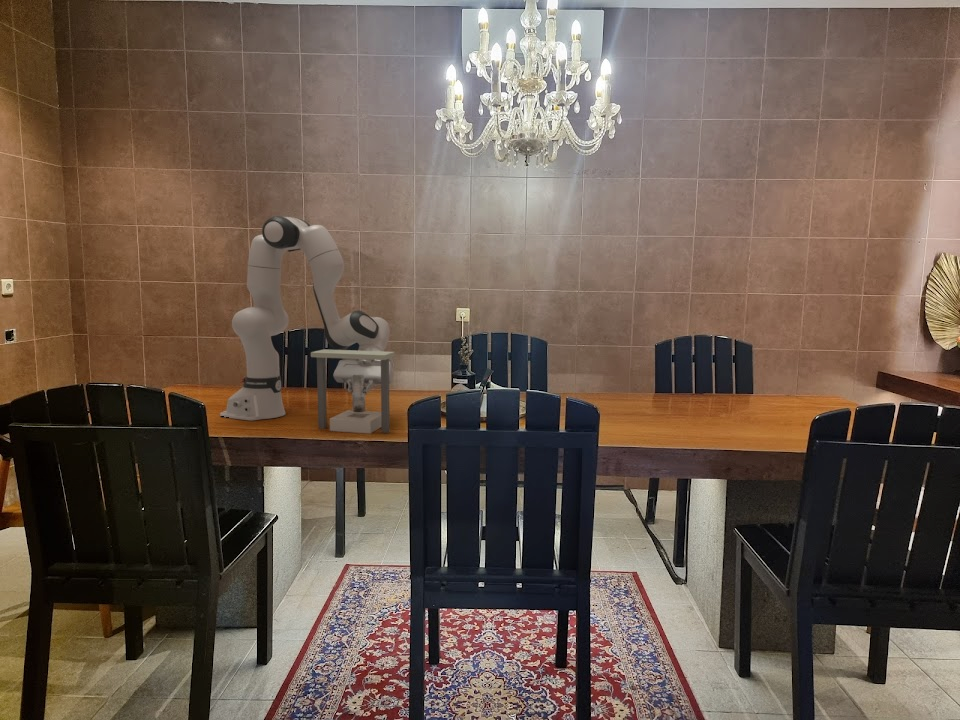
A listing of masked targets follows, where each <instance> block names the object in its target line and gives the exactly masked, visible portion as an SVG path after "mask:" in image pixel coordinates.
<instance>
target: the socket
mask: <svg viewBox="0 0 960 720" xmlns="http://www.w3.org/2000/svg"><path fill="white" fill-rule="evenodd" d="M381 428H382V424H381V411H369V410H365V411H364V412H353V409H346V410H345V411H343V412H341V413H339V414H336V415H334V416H332V417H331V418H329V431H330V432H339V433H341V432H343V433H354V434H356V433H357V434H372V433H374V432H376V431H377V430H379V429H381Z"/></svg>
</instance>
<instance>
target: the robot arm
mask: <svg viewBox="0 0 960 720" xmlns="http://www.w3.org/2000/svg"><path fill="white" fill-rule="evenodd" d="M299 250H300V251H302V252H303V253H304V255H305V257H306V260H307V262H308V264H309V267H310V270H311V275H312V278H313V279H312V280H313V281H312V282H313V283H312V289H313V294H314V297H315V301H316V305H317V307H318V310H319V314H320V317H321V319H322V323H323V328H324V336H325V339H326V341H327V343H328V345H329V346H330V347H331V348H333V349H334V350H348V349H349V348H350V347H351V346H352V345H354V344H356V343H357V344H358V345H359V346H358V349H357V351H383V352H385V349H387V346H388V342H389V338H390V335H391V333H390V332H391V328H390V324H389V323H388V321H386V320H385V319H384V318H383V317H379V316H370V315H369V314H367V313H366V312H365V311H361V310H354V311H352V312H350V313H348V314H346V315H345V316H343V317H342V318H341V317H340V314H339V311H338V308H337V304H336V301H335V295H334V293H335V290H336V287H337V285H338V284H339V281H340V279H341V278H342V277H343V275H344V272H345V262H344V258H343V256H342V254H341V252H340V250H339V247H338V245H337V243H336V242H335V239H334V238H333V237H332V235H331V233H330V232H329V231H328V229H327V228H326V227H325V226H324V225H322V224H313V225H310V224H309V223H308V222H307V221H306V220H303V219H301V218H296V217H293V216H282V215H279V216H278V215H277V216H272V217H270V218H268V219H267V220H265V222H264V223H263V226H262V229H261V234H258V235H256V236H255V237H254V238H253V239H252V240H251V244H250V249H249V254H248V260H247V261H248V262H247V275H246V277H247V279H246V288H247V291H249V293H250V295H251V297H252V301H253V306H250V307H246V308H243V309H241V310H239V311H237V312H236V313H235V314H234V315H233V317H232V319H231V327H232V330H233V331H234V333H235V334H236V336H238V338H239V339H240V342H241V344H242V346H243V351H244V354H245V363H246V376H245V377H244V378H241V379H240V383H243V384H242V387H241V388H240V389H239V390H237V391H236V392H235V393H233V395H231V396H230V397H228V399H227V403H226V410H224V411H221V412H220V413H219V417H220V416H224V417H223V418H226V417H229V418H228V419H237V420H242V421H243V420H244V421H259V420H266V419H267V420H268V419H269V420H270V419H274V418H279V417H280V418H281V417H283V416H285V415H286V414H287V413H286V411H285V408H284V407H285V406H284V403H283V397H282V376H281V375H280V374H281V373H280V355H279V352H278V351H277V350H276V349H275V347H274V344H273V341H272V337H273V336H277V335H279V334H281V333H283V332H284V331H285V330H286V329H287V328H288V326H289V324H290V323H289V322H290V317H289V314H288V313H287V312H286V310H285V308H284V304H283V300H282V294H281V293H282V292H281V279H282V265H283V264H282V261H283V256H284V254H285V253H286V252H289V253H291V252H295V251H299ZM394 368H395V363H394V359H393V357H392V358H389V385H390V384H392V383H393V380H394V375H395V370H394ZM355 374H363V375H364V381H365V385H366V384H367V385H366V386H365V387H364V389H363V392H364V394H365V395H367V394H368V395H369V393H370V391H371V390H372V389H373V388H374V387H375V385H381V360H371V359H346V358H341V360H339V361H338V363H337V365H336V368H335V369H334V372H333V375H332V376H333V378H334V380H335V381H336V382H337V383H341V384H342V383H343V384H344V383H345V384H347V385H348V387H347V392H348V394H352V375H355Z"/></svg>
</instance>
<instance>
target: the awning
mask: <svg viewBox="0 0 960 720" xmlns="http://www.w3.org/2000/svg"><path fill="white" fill-rule="evenodd" d="M310 357H311V358H316V375H317V376H316V377H317V378H316V381H317V382H316V383H317V418H318V422H317V423H318V424H317V425H318V429H321V430H322V429H323V430H324V429H327V428H328V422H327V421H328V418H327V416H328V414H327V380H326V379H327V376H326V375H327V373H326V369H327V368H326V359H344V358H346V359H371V360H381V384H380V400H381V401H380V404H381V405H380V407H381V408H380V410H381V411H380V412H381V424H382V427H381V434H382V433H383V434H388V433H390V432H391V430H390V429H391V428H390V427H391V424H390V422H391V420H390V416H391V415H390V414H391V413H390V384H389V358H392V359H393V358H395V357H396V352H395V351H384V352H383V351H358V350H356V349H355V350H353V349H352V350H350V349H346V350H337V349H319V350H314V351H311V352H310Z"/></svg>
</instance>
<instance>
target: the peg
mask: <svg viewBox="0 0 960 720" xmlns="http://www.w3.org/2000/svg"><path fill="white" fill-rule="evenodd" d="M365 385H366V384H365V381H364V375H363V374H355V375H352V385H351V386H352V393H351V394H352V410H353V412H364V411H366V394H364V392H363V389H364V387H366V386H365Z"/></svg>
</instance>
